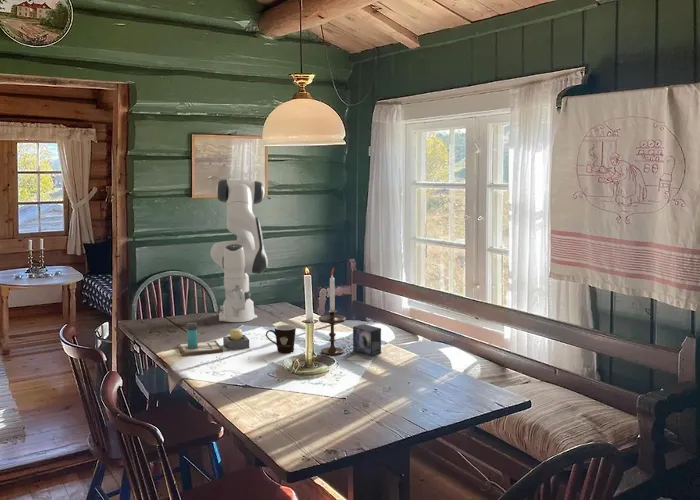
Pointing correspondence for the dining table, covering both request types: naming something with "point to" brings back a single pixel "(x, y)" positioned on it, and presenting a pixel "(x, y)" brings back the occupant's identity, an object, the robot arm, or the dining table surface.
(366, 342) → the small box
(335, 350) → the candlestick
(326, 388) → the dining table surface
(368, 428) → the dining table surface
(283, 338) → the coffee mug
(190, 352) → the board
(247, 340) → the button housing
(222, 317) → the robot arm
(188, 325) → the teal bottle
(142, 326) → the dining table surface
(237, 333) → the button cap
